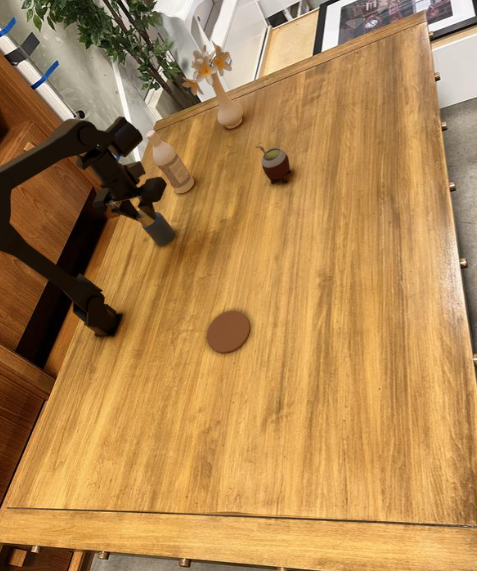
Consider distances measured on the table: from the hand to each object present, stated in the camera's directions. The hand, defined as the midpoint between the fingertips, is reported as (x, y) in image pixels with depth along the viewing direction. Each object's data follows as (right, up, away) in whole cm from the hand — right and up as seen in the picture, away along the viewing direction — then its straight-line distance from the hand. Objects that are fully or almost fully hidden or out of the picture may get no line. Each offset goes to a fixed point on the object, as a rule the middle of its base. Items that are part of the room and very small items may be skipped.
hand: (148, 219), depth 98 cm
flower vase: (+21, +39, +36) cm, 57 cm away
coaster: (+20, -27, -14) cm, 36 cm away
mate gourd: (+34, +13, +9) cm, 38 cm away
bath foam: (+6, +15, +26) cm, 30 cm away
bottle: (+1, -3, +15) cm, 15 cm away
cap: (0, 0, 0) cm, 0 cm away
